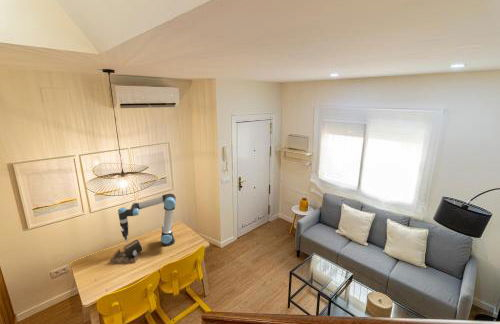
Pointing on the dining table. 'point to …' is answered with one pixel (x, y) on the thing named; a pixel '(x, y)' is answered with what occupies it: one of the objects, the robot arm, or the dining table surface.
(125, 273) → the dining table surface
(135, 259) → the walnut rest
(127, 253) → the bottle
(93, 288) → the dining table surface
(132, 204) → the robot arm
